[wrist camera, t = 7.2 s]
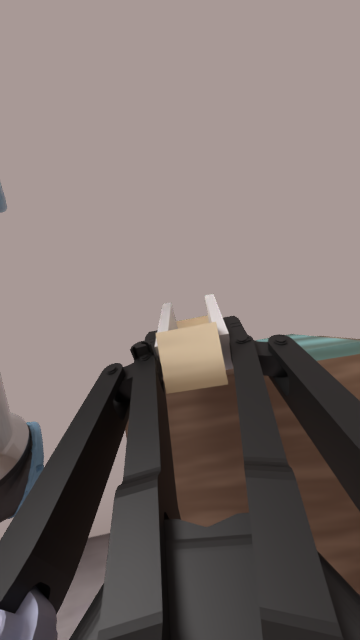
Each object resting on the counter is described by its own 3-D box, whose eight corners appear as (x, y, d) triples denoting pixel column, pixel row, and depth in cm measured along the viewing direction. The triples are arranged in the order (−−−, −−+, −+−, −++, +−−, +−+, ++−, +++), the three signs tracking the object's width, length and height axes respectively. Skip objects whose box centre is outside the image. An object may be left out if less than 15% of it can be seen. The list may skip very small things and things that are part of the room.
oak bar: (260, 379, 9) (243, 295, 9) (137, 398, 10) (123, 319, 10) (220, 341, 30) (215, 315, 30) (181, 348, 31) (176, 323, 31)
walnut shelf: (511, 714, 15) (416, 332, 16) (172, 711, 18) (117, 382, 19) (362, 527, 29) (318, 329, 30) (185, 541, 32) (152, 358, 33)
